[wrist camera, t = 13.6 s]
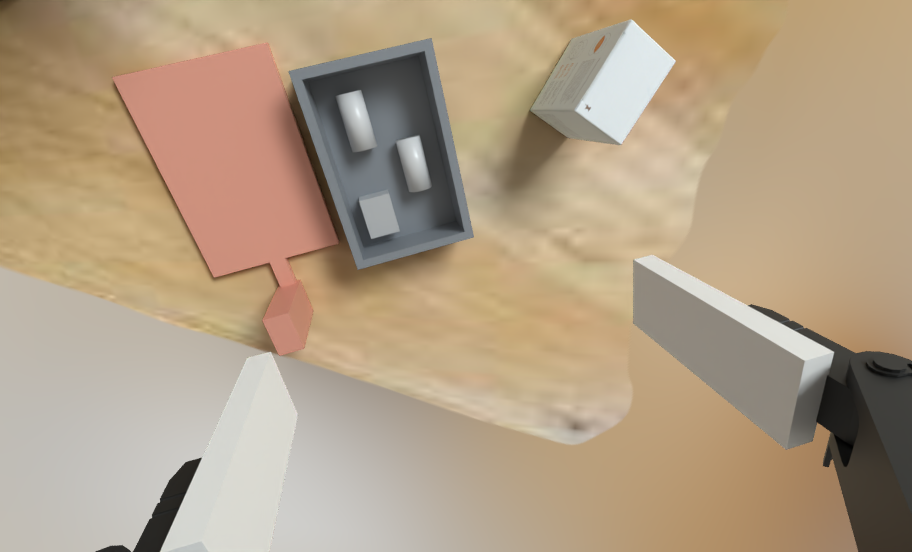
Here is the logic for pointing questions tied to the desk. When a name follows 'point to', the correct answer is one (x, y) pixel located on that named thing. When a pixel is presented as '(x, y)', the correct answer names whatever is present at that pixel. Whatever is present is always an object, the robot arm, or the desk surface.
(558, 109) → the small box
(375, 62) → the tub
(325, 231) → the lid
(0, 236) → the desk surface
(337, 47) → the desk surface
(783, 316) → the robot arm
